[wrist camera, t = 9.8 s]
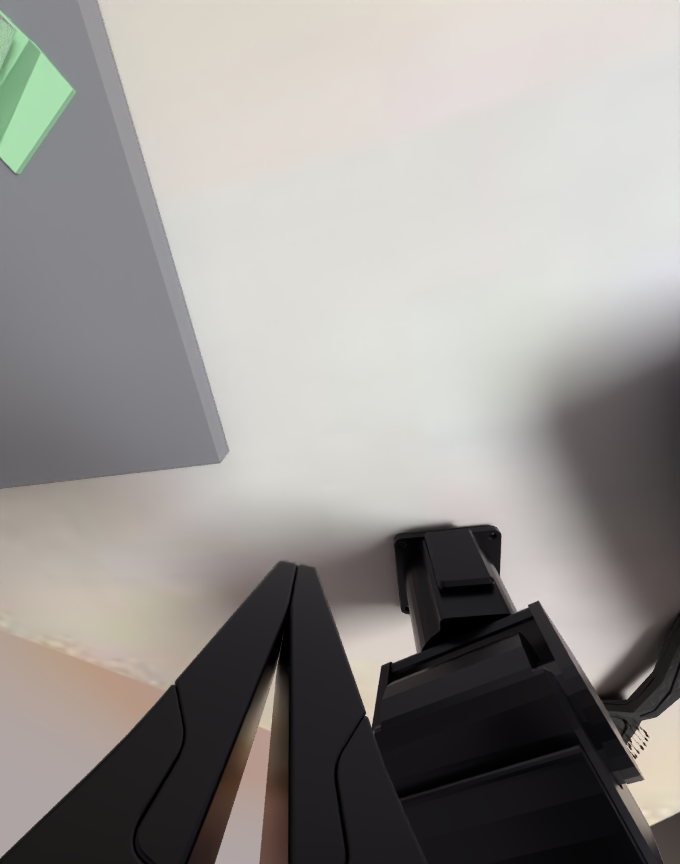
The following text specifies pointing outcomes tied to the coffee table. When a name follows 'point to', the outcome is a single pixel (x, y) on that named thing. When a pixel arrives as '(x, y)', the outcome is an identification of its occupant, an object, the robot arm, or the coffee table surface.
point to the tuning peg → (5, 38)
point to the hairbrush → (650, 691)
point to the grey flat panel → (86, 271)
